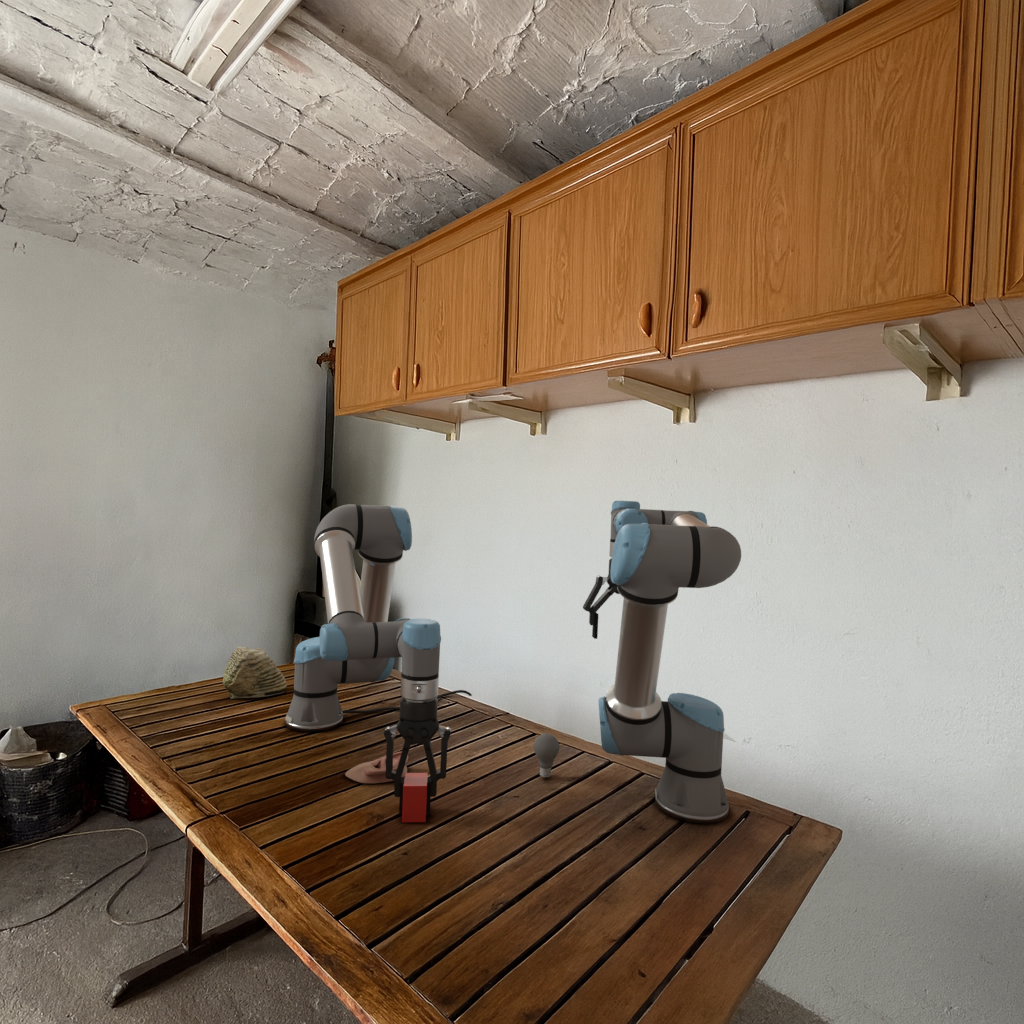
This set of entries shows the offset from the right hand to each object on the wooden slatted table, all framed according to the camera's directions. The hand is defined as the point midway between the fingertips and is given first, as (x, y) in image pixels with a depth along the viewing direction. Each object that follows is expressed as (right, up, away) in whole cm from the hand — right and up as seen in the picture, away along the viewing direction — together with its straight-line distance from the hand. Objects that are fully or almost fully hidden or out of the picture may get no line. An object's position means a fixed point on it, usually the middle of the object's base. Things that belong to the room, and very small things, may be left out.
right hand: (619, 638), depth 169 cm
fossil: (-109, -24, +29) cm, 116 cm away
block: (-48, -28, -41) cm, 69 cm away
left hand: (-48, -27, -41) cm, 69 cm away
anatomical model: (-60, -27, -23) cm, 69 cm away
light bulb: (-21, -28, -21) cm, 41 cm away
